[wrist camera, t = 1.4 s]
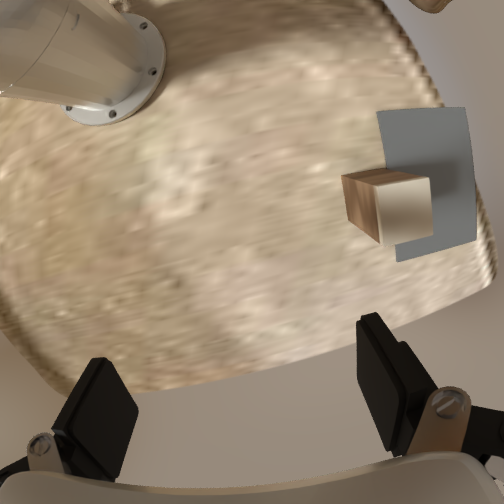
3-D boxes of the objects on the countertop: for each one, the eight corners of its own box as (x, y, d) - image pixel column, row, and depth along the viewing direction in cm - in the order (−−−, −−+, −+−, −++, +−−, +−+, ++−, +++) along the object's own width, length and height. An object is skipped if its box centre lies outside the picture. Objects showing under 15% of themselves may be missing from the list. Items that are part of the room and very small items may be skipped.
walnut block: (340, 175, 28) (377, 186, 20) (381, 168, 28) (429, 177, 19) (348, 219, 29) (384, 247, 21) (387, 211, 29) (433, 235, 21)
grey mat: (376, 111, 26) (377, 111, 26) (463, 107, 25) (464, 107, 25) (396, 261, 31) (397, 262, 31) (474, 239, 30) (476, 240, 30)
